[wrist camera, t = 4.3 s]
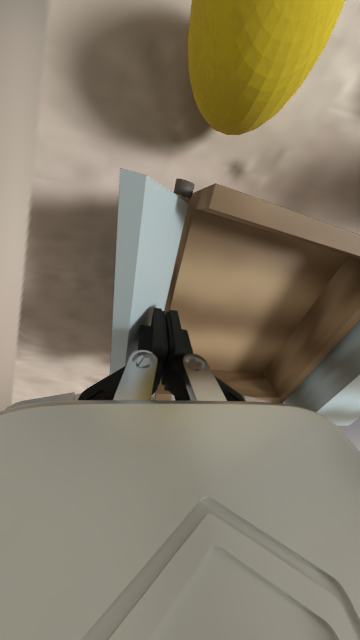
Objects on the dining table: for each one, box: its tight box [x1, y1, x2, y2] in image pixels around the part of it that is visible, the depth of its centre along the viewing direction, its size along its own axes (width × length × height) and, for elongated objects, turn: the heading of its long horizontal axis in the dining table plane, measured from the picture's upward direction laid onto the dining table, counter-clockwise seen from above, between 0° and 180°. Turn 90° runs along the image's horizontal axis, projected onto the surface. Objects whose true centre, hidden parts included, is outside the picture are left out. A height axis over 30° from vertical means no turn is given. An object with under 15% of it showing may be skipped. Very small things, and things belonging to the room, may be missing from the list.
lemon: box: [188, 0, 345, 135], centre depth 7 cm, size 6×6×8 cm
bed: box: [155, 179, 360, 425], centre depth 16 cm, size 18×24×9 cm
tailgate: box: [110, 168, 188, 375], centre depth 13 cm, size 15×2×6 cm, turn 166°
